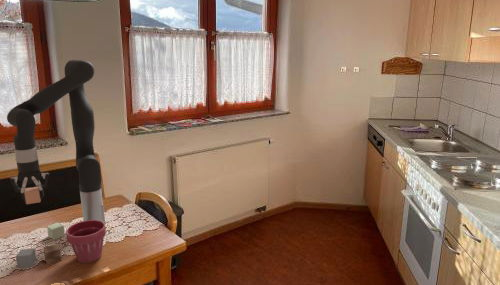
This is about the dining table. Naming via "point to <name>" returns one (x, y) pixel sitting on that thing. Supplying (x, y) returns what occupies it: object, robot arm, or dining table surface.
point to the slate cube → (26, 258)
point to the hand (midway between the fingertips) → (33, 199)
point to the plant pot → (86, 239)
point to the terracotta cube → (32, 195)
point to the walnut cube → (52, 254)
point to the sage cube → (56, 231)
